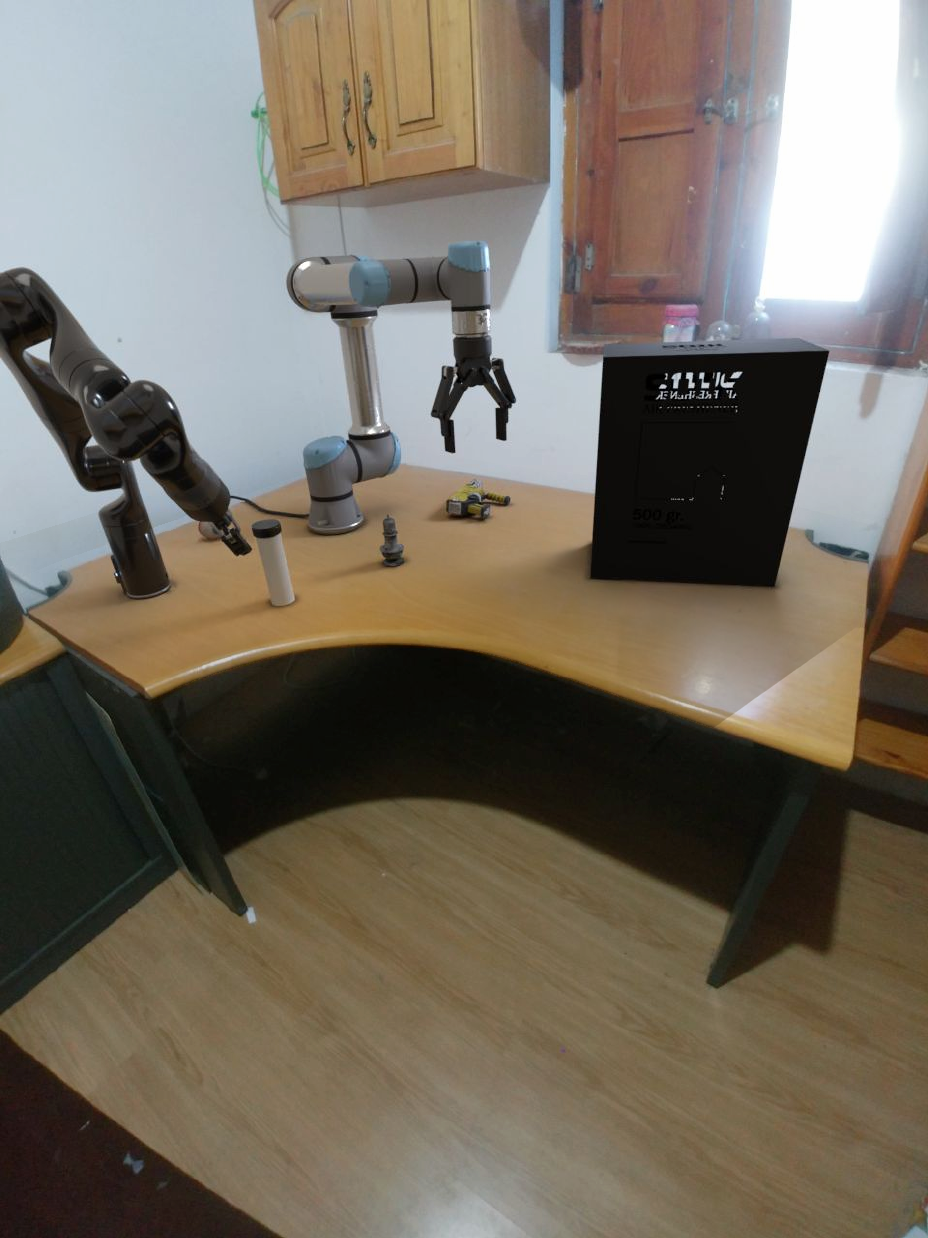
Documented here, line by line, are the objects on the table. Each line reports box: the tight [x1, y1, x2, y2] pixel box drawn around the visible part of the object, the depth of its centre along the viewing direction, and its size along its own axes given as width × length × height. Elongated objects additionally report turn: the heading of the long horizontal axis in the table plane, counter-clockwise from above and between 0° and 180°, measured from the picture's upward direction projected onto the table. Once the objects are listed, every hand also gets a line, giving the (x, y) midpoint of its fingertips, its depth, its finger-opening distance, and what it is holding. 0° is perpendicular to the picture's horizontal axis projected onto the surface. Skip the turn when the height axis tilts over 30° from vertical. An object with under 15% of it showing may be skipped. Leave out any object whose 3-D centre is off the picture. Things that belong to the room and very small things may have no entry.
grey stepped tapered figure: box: [379, 514, 405, 567], centre depth 143 cm, size 6×6×12 cm
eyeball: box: [197, 521, 223, 540], centre depth 164 cm, size 6×6×6 cm
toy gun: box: [445, 478, 511, 520], centre depth 176 cm, size 5×24×15 cm
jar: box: [255, 532, 296, 607], centre depth 127 cm, size 5×5×17 cm
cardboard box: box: [589, 337, 830, 587], centre depth 126 cm, size 38×20×45 cm, turn 78°
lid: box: [251, 518, 283, 538], centre depth 123 cm, size 6×6×2 cm
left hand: (236, 532), depth 107 cm, fingers open, 8 cm apart
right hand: (476, 445), depth 127 cm, fingers open, 13 cm apart
